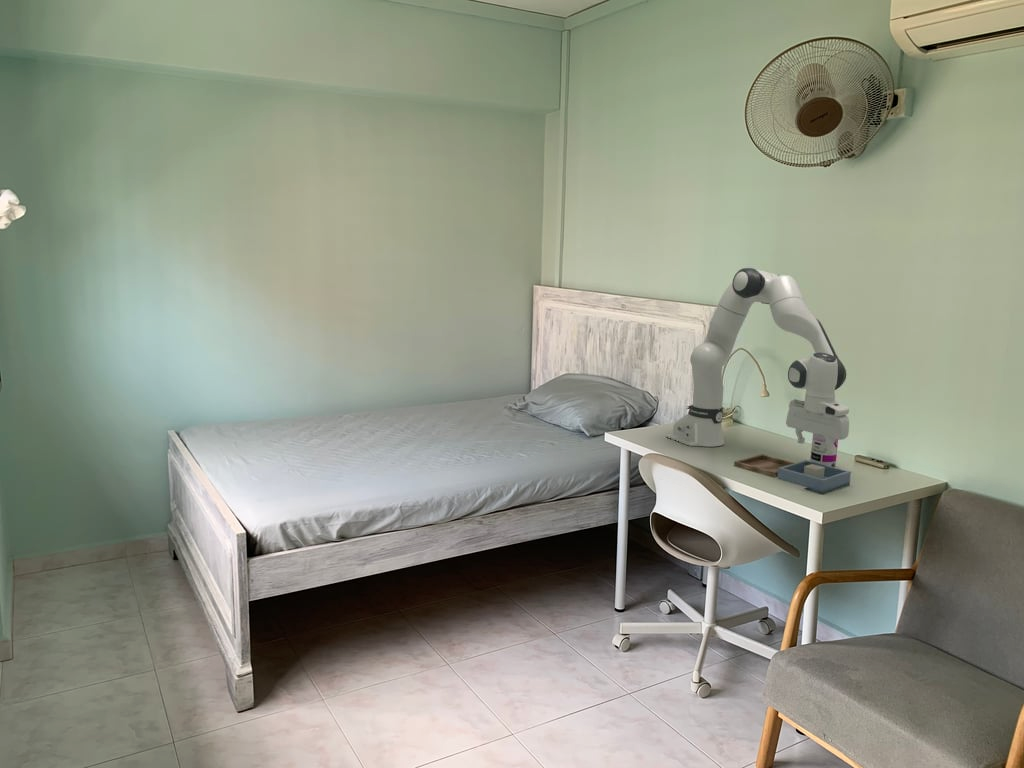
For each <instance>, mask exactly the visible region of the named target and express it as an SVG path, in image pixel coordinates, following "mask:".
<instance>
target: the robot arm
mask: <svg viewBox="0 0 1024 768" xmlns="http://www.w3.org/2000/svg"><path fill="white" fill-rule="evenodd" d="M756 302H757V303H761V304H766V305H769V307H770V308H769V309H770V312H771V317H772V319H773V322H774V323H775V324H776V326H777V327H778V328H780V329H781V330H783V331H785V332H788V333H792V334H794V335H797V336H800V337H802V338H804V339H806V340H807V341H808V342H809V343H810V344H811V346H812V348H813V350H814V353H812V354H811V356H809V357H806V358H803V359H798V360H797V359H796V360H795V361H793V362H792V363H791V364H790V366H789V367H788V369H787V370H788V371H787V380H788V382H789V383H790V385H791V386H792V387H794V388H796V389H801V390H805V394H804V400H799V399H796V398H795V399H792V400H791V401H790V402H789V403H788V411H787V416H786V419H785V421H786V422H785V424H786V426H787V427H788V428H791V429H795V430H794V432H795V434H796V437H797V443H798V444H805V443H806V442H805V441H806V438H805V437H804V436H803V434H802V433H803V432H807V433H811V434H813V433H815V434H819V435H822V436H826V437H829V438H828V440H829V443H828V444H825V445H824V447H825V448H824V450H827V451H830V450H831V447H832V445H833V443H834V442H835V441H836V439H838V441H843V440H846V439H847V438H848V437H849V432H850V419H849V416H848V414H849V412H850V409H849V407H847V406H845V405H844V404H842V403H840V402H839V401H837V400H835V399H836V394H835V391H837V390H838V389H839V388H841V387H842V385H843V384H845V381H846V379H847V370H846V367H845V365H844V363H842V361H841V360H840V359H839V357H838V355H837V353H836V352H835V351H836V350H835V349H834V346H833V345H832V343H831V340H830V338H829V336H828V335H827V332H826V330H825V328H824V326H823V325H822V323H821V321H820V320H819V319H818V318H816V316H814V315H813V314H812V313H811V311H810V310H809V308H808V307H807V306H806V305H807V304H806V303H805V299H804V297H803V294H802V291H801V289H800V287H799V284H798V283H797V282H796V279H795V278H794V277H792V276H791V275H788V274H780V275H779V274H776V273H773V272H770V271H768V270H761V269H757V268H756V269H755V268H753V267H744V268H740V270H738V271H737V272H736V273H735V274H734V277H733V279H732V281H731V282H730V283H729V285H728V286H727V288H726V289H725V291H724V292H723V294H722V296H721V297H720V299H719V302H718V303H717V306H716V308H715V310H714V312H713V315H712V317H711V319H710V321H709V324H708V325H709V326H708V329H707V333H706V336H705V339H704V341H703V343H701V344H699V345H696V347H695V348H694V349H693V350H692V352H691V354H690V356H689V357H690V359H689V360H690V365H691V373H692V379H693V381H692V383H693V390H692V391H693V393H692V404H690V405H687V406H686V410H688V413H687V414H685V415H684V416H682V417H681V418H679V419H678V420H676V421H675V422H674V424H673V428H672V431H670V432H668V433H667V434H666V436H665V437H666V438H667V437H668V439H670V438H671V439H670V440H673V441H675V440H676V441H675V442H678V441H679V443H681V444H684V445H687V446H688V447H689V446H690V447H711V448H712V447H719V446H724V444H725V440H724V436H723V424H722V423H723V422H722V421H723V418H724V407H723V401H724V399H723V398H724V384H723V377H722V374H723V373H722V367H724V366H725V365H726V363H728V362H729V359H730V356H731V354H732V352H733V348H734V346H735V343H736V340H737V337H738V334H739V332H740V330H741V327H742V326H743V324H744V322H745V320H746V318H747V316H748V313H749V311H750V308H751V307H752V305H753V304H755V303H756Z"/></svg>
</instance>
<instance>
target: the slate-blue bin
mask: <svg viewBox="0 0 1024 768" xmlns="http://www.w3.org/2000/svg"><path fill="white" fill-rule="evenodd" d="M793 463H794V464H791V465H787V466H784V467H780V468H778V477H776V478H777V479H778V480H781V481H785V482H789V483H793V484H794V485H798V486H803V487H805V488H803V489H804V490H806V491H810V492H812V491H813V493H817V494H820V495H824V493H825V494H827V492H828V493H831V492H834V491H836V489H837V490H840V489H842V488H841V487H843V488H845V486H846V487H848V486H850V484H851V476H852V475H851V474H852V471H849V470H846V469H842V468H838V467H831V466H827V465H823V464H819V463H815V462H812V461H810V460H807V459H804V460H801V461H798V462H793ZM810 464H814V465H818V466H822V467H825V471H824V479H820V478H817V477H813V476H809V475H806V474H804V466H807V465H810ZM847 485H848V486H847ZM839 488H840V489H839ZM833 490H834V491H833Z"/></svg>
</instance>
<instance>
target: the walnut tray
mask: <svg viewBox="0 0 1024 768" xmlns="http://www.w3.org/2000/svg"><path fill="white" fill-rule="evenodd" d="M794 463H795V462H792V461H789V460H786V459H781V458H777V457H773V456H770V455H766V454H758V455H757V454H756V455H754V456H751V457H747V458H743V459H739V460H735V461H734V462H733V467H737V468H740V469H743V470H746V471H750V472H754V473H757V474H761V475H765V476H767V477H771V478H773V479H774V478H778V468H780V467H784V466H787V465H791V464H794Z"/></svg>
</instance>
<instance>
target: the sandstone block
mask: <svg viewBox="0 0 1024 768" xmlns="http://www.w3.org/2000/svg"><path fill="white" fill-rule="evenodd" d="M824 471H825V467H822V466H818V465H814V464H810V465H807V466H804V474H806V475H809V476H813V477H817V478H820V479H824Z"/></svg>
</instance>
